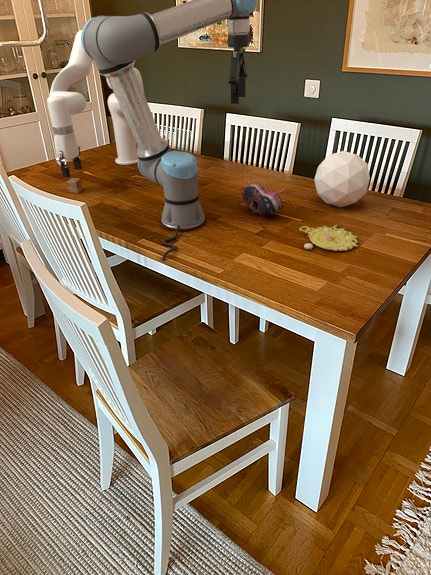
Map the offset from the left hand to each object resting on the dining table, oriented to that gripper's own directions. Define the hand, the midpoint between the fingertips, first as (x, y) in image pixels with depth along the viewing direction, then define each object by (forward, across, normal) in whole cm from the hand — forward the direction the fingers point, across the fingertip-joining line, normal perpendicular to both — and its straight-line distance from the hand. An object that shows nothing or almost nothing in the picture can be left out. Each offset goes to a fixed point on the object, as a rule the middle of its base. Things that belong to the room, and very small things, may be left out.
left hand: (72, 173), depth 182 cm
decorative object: (+7, +28, +104) cm, 108 cm away
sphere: (+8, -3, +107) cm, 107 cm away
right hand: (-26, -12, +67) cm, 73 cm away
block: (+8, 0, 0) cm, 8 cm away
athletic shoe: (+8, +8, +78) cm, 79 cm away
